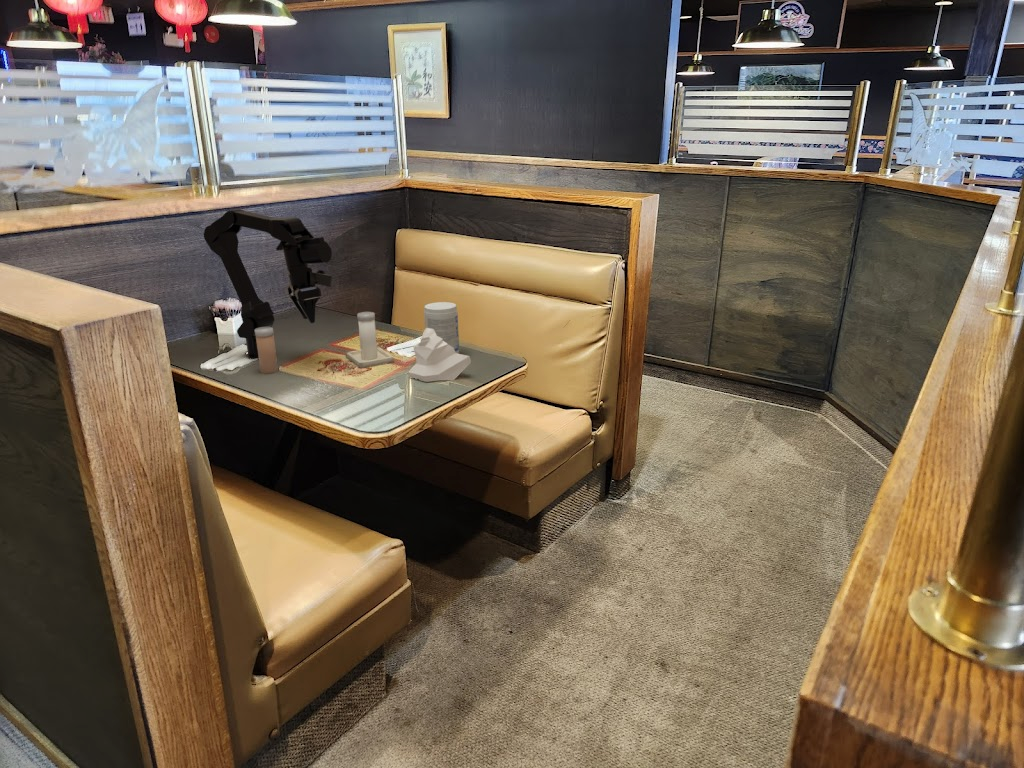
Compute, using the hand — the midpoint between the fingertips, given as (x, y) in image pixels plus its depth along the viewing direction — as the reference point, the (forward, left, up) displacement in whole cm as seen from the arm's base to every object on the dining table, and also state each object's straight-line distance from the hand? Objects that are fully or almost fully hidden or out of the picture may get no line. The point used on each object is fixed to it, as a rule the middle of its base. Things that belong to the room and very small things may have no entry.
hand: (309, 320), depth 201 cm
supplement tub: (+13, +34, -13) cm, 39 cm away
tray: (+6, +14, -12) cm, 20 cm away
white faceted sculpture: (+29, +24, -13) cm, 40 cm away
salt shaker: (+6, +14, -12) cm, 20 cm away
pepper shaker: (0, -13, -12) cm, 18 cm away
